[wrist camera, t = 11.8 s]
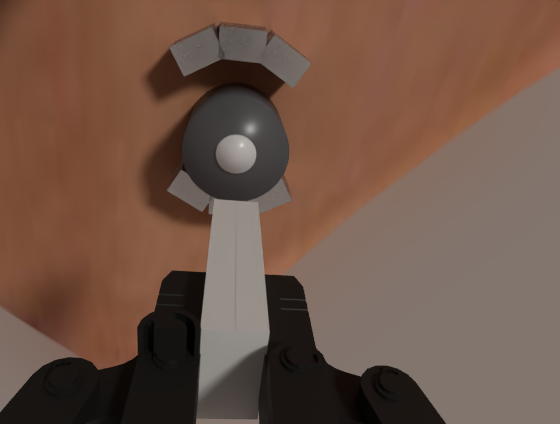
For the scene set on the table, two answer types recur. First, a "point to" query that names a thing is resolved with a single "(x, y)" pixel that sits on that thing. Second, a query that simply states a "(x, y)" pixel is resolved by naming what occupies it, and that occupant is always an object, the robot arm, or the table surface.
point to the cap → (235, 143)
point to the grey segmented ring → (240, 47)
